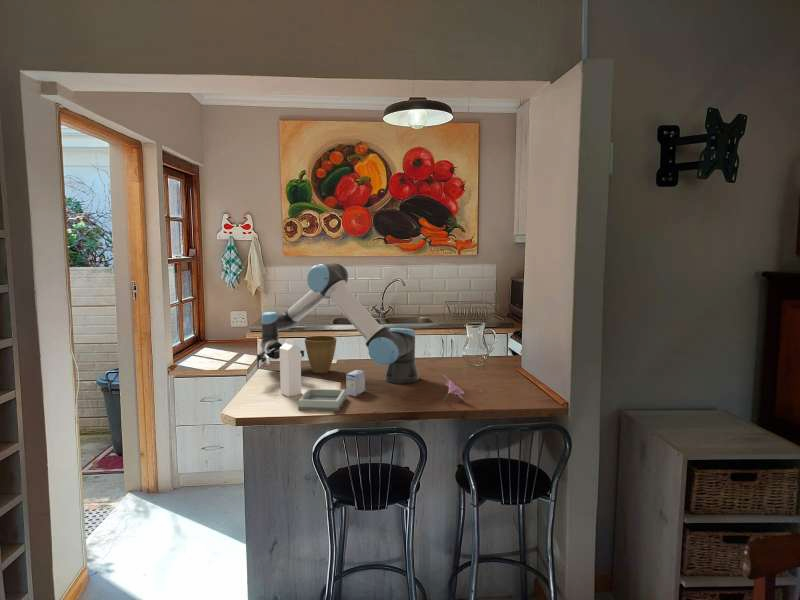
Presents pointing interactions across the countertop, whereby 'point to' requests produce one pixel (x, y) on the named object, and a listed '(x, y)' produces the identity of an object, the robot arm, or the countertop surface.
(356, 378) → the medicine box
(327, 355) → the plant pot
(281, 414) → the countertop surface
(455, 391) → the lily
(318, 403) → the carton holder
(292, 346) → the milk
